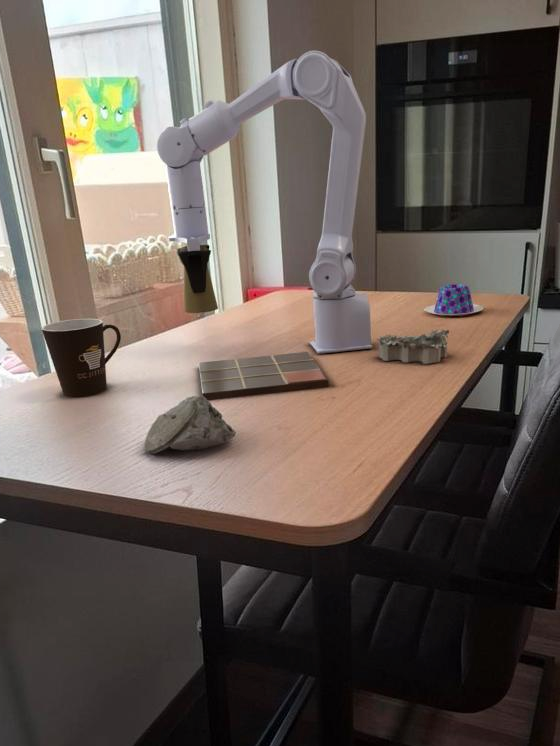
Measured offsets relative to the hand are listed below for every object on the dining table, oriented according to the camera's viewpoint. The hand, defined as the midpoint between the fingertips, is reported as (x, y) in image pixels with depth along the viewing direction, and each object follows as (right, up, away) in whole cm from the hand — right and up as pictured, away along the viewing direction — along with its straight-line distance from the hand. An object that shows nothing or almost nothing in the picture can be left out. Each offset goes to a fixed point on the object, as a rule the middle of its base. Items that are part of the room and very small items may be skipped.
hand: (198, 290), depth 123 cm
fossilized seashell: (+6, -30, -41) cm, 51 cm away
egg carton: (+36, -14, -11) cm, 40 cm away
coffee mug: (-13, -20, -17) cm, 29 cm away
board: (+12, -18, -16) cm, 27 cm away
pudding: (+49, +1, +21) cm, 53 cm away
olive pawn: (0, -3, +1) cm, 4 cm away
